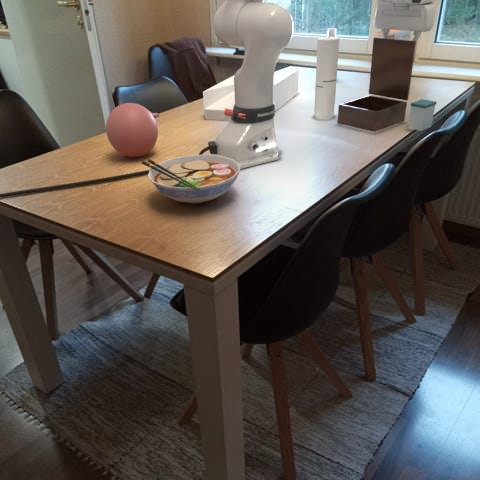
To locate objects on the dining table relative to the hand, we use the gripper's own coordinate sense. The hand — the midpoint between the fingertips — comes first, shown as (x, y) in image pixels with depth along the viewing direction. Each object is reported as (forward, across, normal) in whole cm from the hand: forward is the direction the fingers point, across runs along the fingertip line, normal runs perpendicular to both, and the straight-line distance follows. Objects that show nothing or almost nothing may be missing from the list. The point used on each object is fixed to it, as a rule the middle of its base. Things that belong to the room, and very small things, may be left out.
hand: (399, 46), depth 159 cm
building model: (+22, -51, -19) cm, 59 cm away
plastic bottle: (+23, -60, +37) cm, 74 cm away
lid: (+6, 0, -4) cm, 7 cm away
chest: (+22, 0, -11) cm, 25 cm away
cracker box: (+23, -29, +39) cm, 54 cm away
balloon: (+22, -35, -82) cm, 92 cm away
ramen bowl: (+22, +6, -91) cm, 94 cm away
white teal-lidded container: (+22, +16, -7) cm, 28 cm away
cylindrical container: (+22, -18, -15) cm, 32 cm away
